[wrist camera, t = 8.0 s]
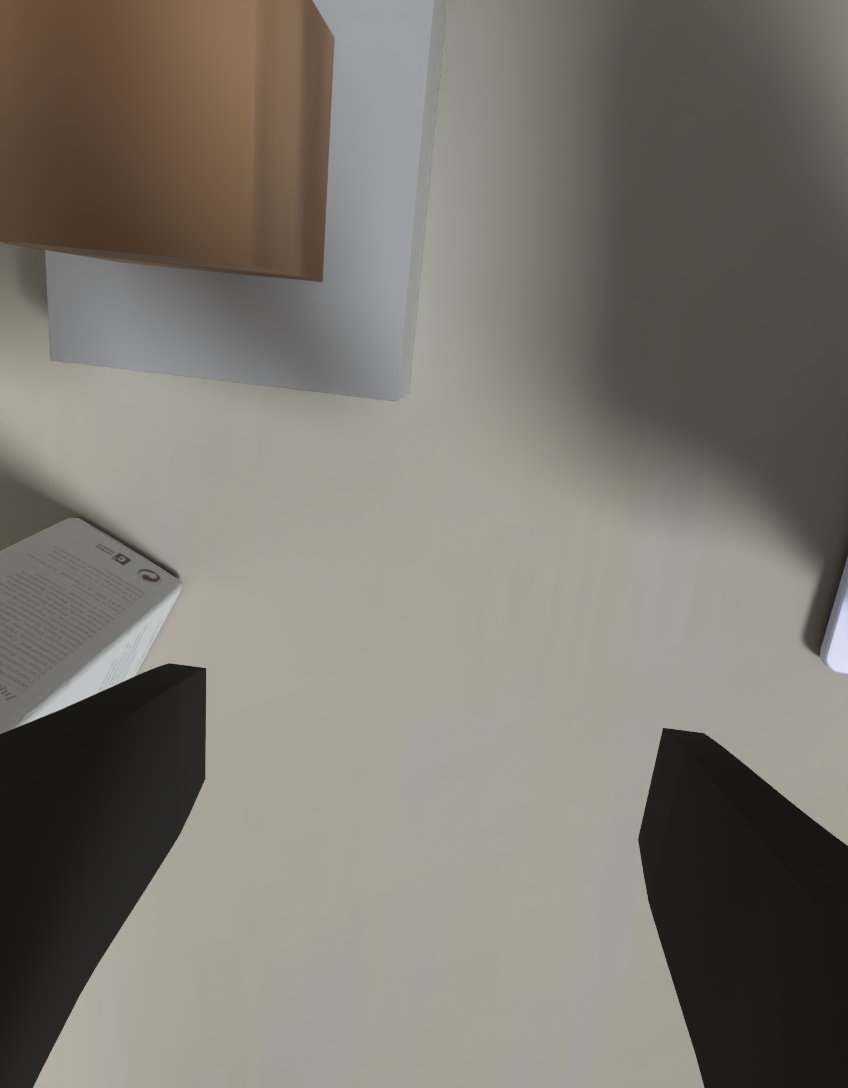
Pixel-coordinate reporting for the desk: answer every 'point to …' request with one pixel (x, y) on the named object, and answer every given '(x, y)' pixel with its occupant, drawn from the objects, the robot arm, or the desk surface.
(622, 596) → the desk surface
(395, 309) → the stoneware block
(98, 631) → the skincare box
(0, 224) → the walnut cube
